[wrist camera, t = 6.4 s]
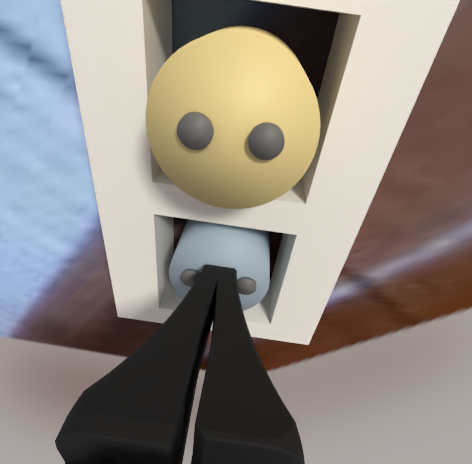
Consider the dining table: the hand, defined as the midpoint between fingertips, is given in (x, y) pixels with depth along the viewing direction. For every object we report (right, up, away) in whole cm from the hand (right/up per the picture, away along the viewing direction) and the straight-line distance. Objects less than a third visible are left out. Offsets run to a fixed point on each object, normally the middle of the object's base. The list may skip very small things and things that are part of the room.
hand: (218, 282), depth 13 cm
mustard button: (+1, +6, -3) cm, 7 cm away
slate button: (0, +2, +3) cm, 3 cm away
